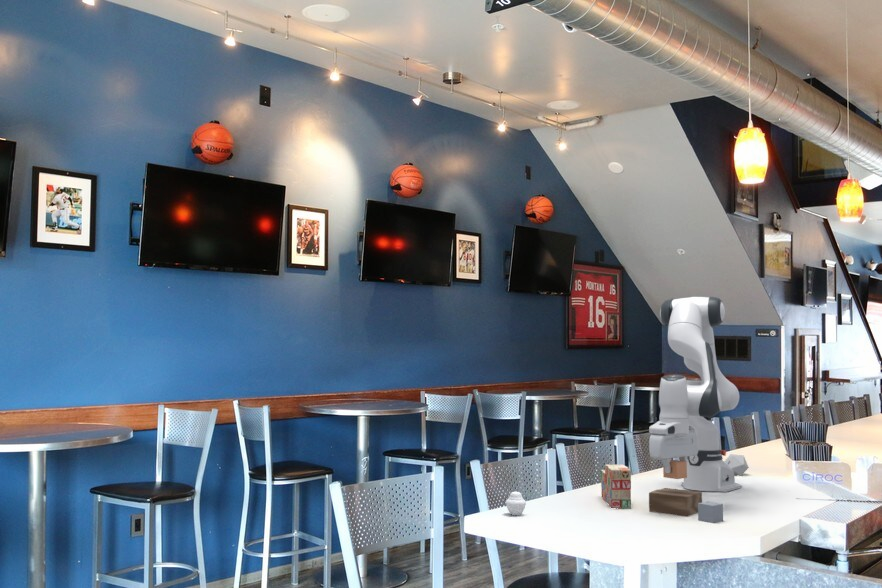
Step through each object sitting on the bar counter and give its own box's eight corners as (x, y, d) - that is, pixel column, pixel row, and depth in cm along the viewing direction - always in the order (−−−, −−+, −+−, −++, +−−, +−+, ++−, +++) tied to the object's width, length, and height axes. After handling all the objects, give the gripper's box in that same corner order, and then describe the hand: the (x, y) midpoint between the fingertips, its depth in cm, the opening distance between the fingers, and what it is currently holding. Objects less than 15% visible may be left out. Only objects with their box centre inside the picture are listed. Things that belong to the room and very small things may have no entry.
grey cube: (708, 518, 235) (707, 501, 235) (723, 521, 231) (722, 503, 231) (698, 520, 232) (697, 503, 232) (713, 523, 228) (712, 505, 228)
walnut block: (665, 506, 254) (665, 487, 255) (702, 511, 246) (701, 492, 247) (649, 512, 245) (648, 492, 245) (686, 517, 237) (686, 497, 238)
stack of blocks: (600, 497, 270) (600, 460, 271) (619, 497, 270) (619, 460, 271) (611, 509, 249) (610, 469, 250) (631, 509, 249) (631, 469, 250)
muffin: (523, 517, 235) (523, 493, 235) (503, 515, 237) (503, 492, 238) (528, 513, 241) (528, 490, 241) (508, 512, 243) (508, 488, 243)
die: (723, 474, 329) (717, 456, 325) (741, 463, 330) (735, 445, 326) (736, 484, 321) (730, 466, 317) (754, 473, 322) (748, 455, 318)
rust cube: (673, 475, 250) (673, 459, 250) (686, 477, 246) (686, 461, 246) (663, 477, 247) (663, 460, 247) (677, 479, 243) (676, 462, 243)
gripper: (685, 425, 256) (686, 468, 255) (645, 427, 244) (646, 473, 243) (702, 426, 251) (703, 470, 250) (662, 429, 239) (663, 476, 238)
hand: (674, 472), depth 247 cm, fingers closed on rust cube, 5 cm apart
